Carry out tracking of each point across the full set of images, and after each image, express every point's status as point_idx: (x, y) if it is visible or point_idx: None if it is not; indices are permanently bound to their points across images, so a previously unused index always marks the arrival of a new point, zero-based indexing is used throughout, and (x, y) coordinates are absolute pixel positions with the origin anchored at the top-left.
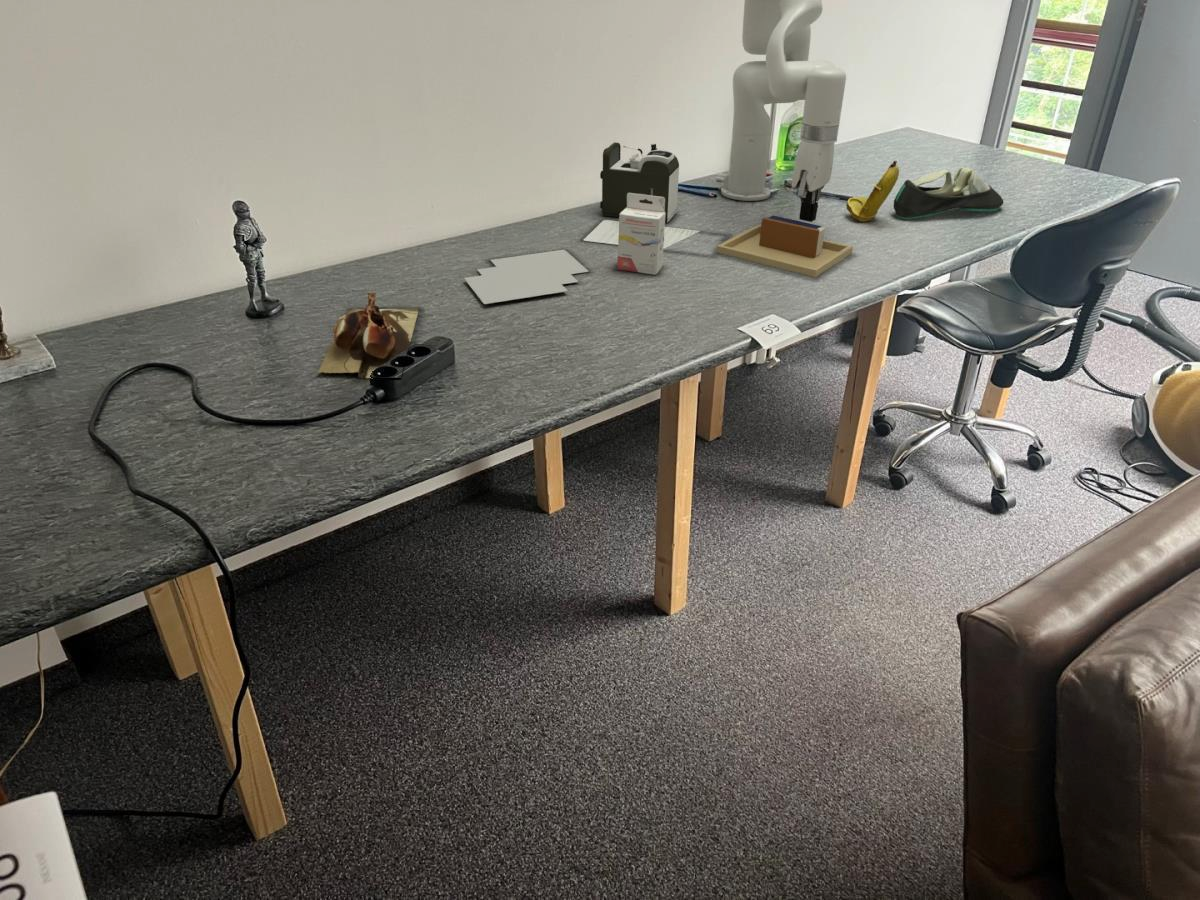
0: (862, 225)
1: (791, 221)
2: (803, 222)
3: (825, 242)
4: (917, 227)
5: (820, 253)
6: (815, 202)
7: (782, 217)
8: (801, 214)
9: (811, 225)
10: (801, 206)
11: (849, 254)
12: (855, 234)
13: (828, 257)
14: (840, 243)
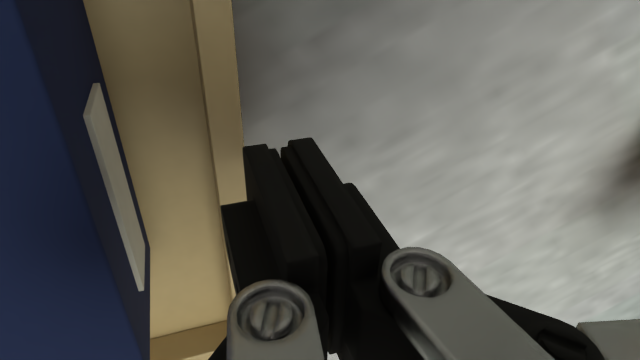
0: (615, 152)
1: (7, 207)
2: (100, 282)
3: (227, 262)
4: (623, 264)
5: None
6: (344, 353)
7: (26, 55)
8: (254, 183)
9: (88, 353)
10: (271, 225)
11: None
12: (502, 193)
13: None
14: None
